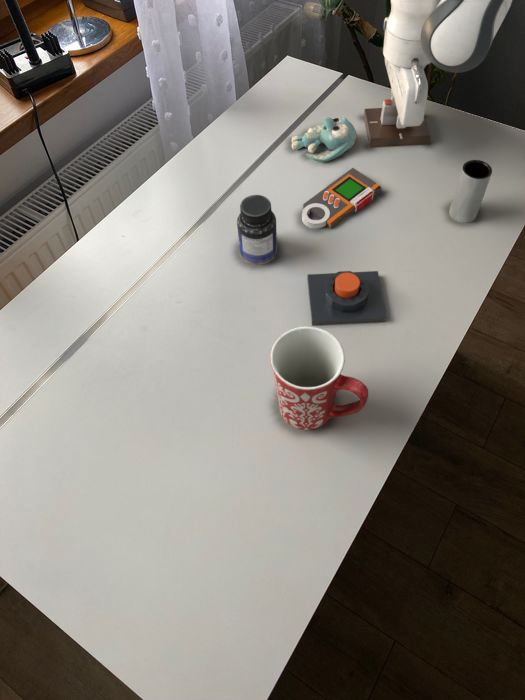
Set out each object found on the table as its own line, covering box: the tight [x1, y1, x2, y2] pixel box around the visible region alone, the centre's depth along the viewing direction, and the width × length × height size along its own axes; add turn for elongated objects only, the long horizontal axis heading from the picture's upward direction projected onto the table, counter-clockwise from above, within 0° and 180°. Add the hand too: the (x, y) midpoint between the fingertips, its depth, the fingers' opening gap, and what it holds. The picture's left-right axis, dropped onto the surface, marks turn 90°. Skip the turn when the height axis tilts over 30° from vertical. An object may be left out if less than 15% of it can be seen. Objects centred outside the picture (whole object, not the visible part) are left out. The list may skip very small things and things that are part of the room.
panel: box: [363, 107, 432, 149], centre depth 114 cm, size 11×10×3 cm
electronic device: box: [301, 167, 382, 230], centre depth 104 cm, size 7×3×15 cm
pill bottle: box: [236, 194, 278, 266], centre depth 95 cm, size 6×6×11 cm
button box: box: [306, 270, 387, 327], centre depth 91 cm, size 11×9×4 cm
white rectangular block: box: [381, 98, 398, 125], centre depth 111 cm, size 6×2×4 cm, turn 92°
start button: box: [335, 273, 360, 299], centre depth 89 cm, size 4×4×2 cm
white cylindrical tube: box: [448, 159, 493, 224], centre depth 98 cm, size 4×4×10 cm
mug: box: [269, 326, 369, 431], centre depth 77 cm, size 13×9×14 cm
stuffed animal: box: [291, 116, 357, 163], centre depth 111 cm, size 11×7×12 cm
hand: (398, 116), depth 112 cm, fingers open, 4 cm apart
